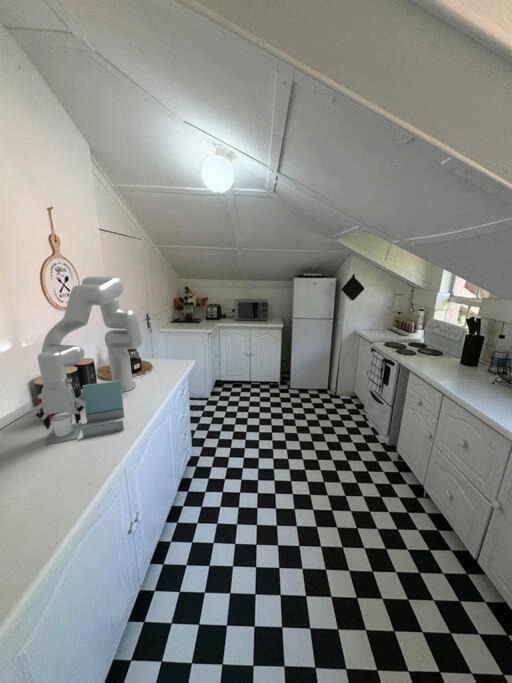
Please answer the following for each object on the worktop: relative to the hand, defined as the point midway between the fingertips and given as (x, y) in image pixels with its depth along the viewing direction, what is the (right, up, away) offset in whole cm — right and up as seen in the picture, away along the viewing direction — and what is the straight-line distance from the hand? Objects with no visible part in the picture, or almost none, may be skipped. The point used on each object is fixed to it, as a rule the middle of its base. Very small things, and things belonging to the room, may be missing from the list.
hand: (63, 424), depth 110 cm
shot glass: (0, -3, +1) cm, 4 cm away
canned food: (-13, -1, +13) cm, 18 cm away
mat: (0, -4, +1) cm, 4 cm away
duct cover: (+10, +9, +9) cm, 16 cm away
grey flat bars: (+13, -2, +6) cm, 14 cm away
